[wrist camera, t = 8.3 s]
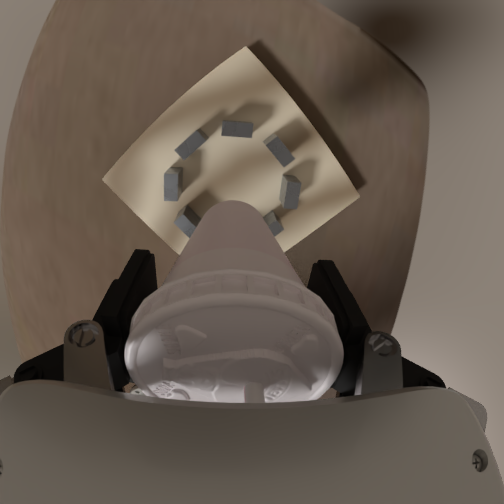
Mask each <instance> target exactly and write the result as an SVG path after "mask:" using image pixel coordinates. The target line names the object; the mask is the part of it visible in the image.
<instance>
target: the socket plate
mask: <svg viewBox="0 0 504 504" xmlns="http://www.w3.org/2000/svg"><path fill="white" fill-rule="evenodd" d="M223 120H233V121H245V122H252V123H253V133H252V138H244V137H231V136H221V133H222V121H223ZM199 128H201V130H202V131H203V132H204V133H205V134H206V135H207V136H208V137H209V138H208V139H207V141H206V142H204V143H203V144H202V145H201V146H200V147H199V148H198V149H196V150H195V151H194V152H193V153H192V154H191V155H190V156H189V157H188V158H186V159H185V160H183V159H182V158H181V157H180V156H179V155H178V154H177V153H176V152H175V151H174V150H175V149H176V148H177V147H178V146H179V145H180V144H181V143H183V142H184V141H185V140H186V139H187V138H188V137H189V136H190V135H191V134H192V133H194V132H195V131H196V130H197V129H199ZM272 134H275V135H276V136H278V137H279V139H280V140H281V141H282V142H283V144H284V145H285V146H286V148H287V149H288V150H289V151H290V153H291V154H292V155H293V157H294V158H295V160H293V161H292V162H291V163H289V164H288V165H287V166H286V167H283V166H282V165H281V164H280V162H279V161H278V160H277V159H276V157H275V156H274V155H273V154H272V153H271V151H270V150H269V149H268V148H267V146H266V145H265V144H264V143H263V141H264V140H265V139H266V138H268V137H269V136H270V135H272ZM170 167H183V189H182V194H181V196H180V198H179V200H178V201H164V173H165V172H166V171H167V170H168V169H169V168H170ZM282 175H292V176H296V177H297V178H298V180H299V181H300V182H301V189H300V195H299V201H298V207H297V209H286V208H283V206H282V204H281V202H280V200H279V196H280V189H281V182H282ZM102 180H103V181H104V182H105V183H106V184H107V185H108V186H109V187H110V188H111V189H112V190H113V191H114V192H115V193H116V194H117V195H118V196H119V197H120V198H121V199H122V200H123V201H124V202H125V203H126V204H127V205H128V206H129V207H130V208H131V209H132V210H133V211H134V212H135V213H136V214H137V215H138V216H139V217H140V218H141V219H142V220H143V221H144V222H145V223H146V224H147V225H148V226H149V227H150V228H151V229H152V230H153V231H154V232H155V233H156V234H157V235H158V236H159V237H161V238H162V239H163V240H164V241H165V242H166V243H167V244H168V245H169V246H170V247H171V248H172V249H173V250H174V251H175V252H177V253H178V254H179V255H180V254H181V252H182V251H183V249H184V247H185V245H186V244H187V242H188V240H189V239H190V238H189V237H188V236H187V235H186V234H184V233H183V232H182V231H181V230H180V229H179V228H178V227H177V226H176V225H175V224H174V220H175V218H176V216H177V214H178V212H179V211H180V210H181V209H182V208H184V207H185V206H186V205H188V206H189V207H190V208H191V209H192V210H193V211H194V212H195V213H196V214H197V215H198V216H199V217H200V218H201V219H202V218H203V216H204V214H205V213H206V212H207V211H208V210H209V209H210V208H211V207H212V206H214V205H216V204H218V203H220V202H223V201H228V200H237V201H242V202H245V203H248V204H250V205H251V206H253V207H254V208H255V209H256V210H257V211H258V212H259V213H260V214H261V216H262V217H264V216H265V215H266V214H268V213H269V212H270V211H272V210H273V211H274V212H275V213H276V214H277V216H278V217H279V218H280V220H281V222H282V225H283V227H284V230H283V231H282V232H280V233H279V234H278V235H276V236H275V239H276V240H277V242H278V243H279V245H280V247H281V248H282V250H283V252H286V251H287V250H288V249H290V248H291V247H292V246H294V245H295V244H297V243H298V242H299V241H301V240H302V239H303V238H305V237H306V236H308V235H309V234H310V233H312V232H313V231H314V230H316V229H317V228H319V227H320V226H321V225H323V224H324V223H325V222H327V221H328V220H329V219H331V218H332V217H334V216H335V215H336V214H338V213H339V212H340V211H342V210H343V209H344V208H346V207H347V206H348V205H350V204H351V203H352V202H354V201H355V200H356V199H358V198H359V197H360V196H359V194H358V192H357V191H356V189H355V187H354V186H353V184H352V183H351V181H350V179H349V178H348V176H347V175H346V173H345V172H344V170H343V169H342V167H341V166H340V164H339V162H338V161H337V159H336V158H335V156H334V155H333V154H332V152H331V151H330V149H329V148H328V146H327V145H326V143H325V142H324V141H323V139H322V138H321V136H320V135H319V134H318V132H317V131H316V129H315V128H314V127H313V125H312V124H311V123H310V121H309V120H308V119H307V117H306V116H305V115H304V113H303V112H302V111H301V110H300V108H299V107H298V106H297V104H296V103H295V102H294V101H293V99H292V98H291V97H290V96H289V94H288V93H287V92H286V91H285V90H284V88H283V87H282V86H281V85H280V84H279V82H278V81H277V80H276V79H275V78H274V77H273V75H272V74H271V73H270V72H269V71H268V70H267V69H266V67H265V66H264V65H263V64H262V63H261V62H260V61H259V60H258V59H257V57H256V56H255V55H254V54H253V53H252V52H251V51H250V50H249V49H248V48H247V47H246V46H245V47H244V48H242V49H241V50H240V51H238V52H237V53H235V54H234V55H233V56H231V57H230V58H228V59H227V60H226V61H224V62H223V63H222V64H220V65H219V66H218V67H216V68H215V69H214V70H213V71H211V72H210V73H209V74H208V75H206V76H205V77H204V78H203V79H201V80H200V81H199V82H198V83H196V84H195V85H194V86H193V87H192V88H191V89H189V90H188V91H187V92H186V93H185V94H184V95H182V96H181V97H180V98H179V99H178V100H177V101H176V102H175V103H174V104H172V105H171V106H170V107H169V108H168V109H167V110H166V111H165V112H164V113H163V114H162V115H161V116H160V117H159V118H158V119H157V120H156V121H155V122H154V123H153V124H152V125H151V126H150V127H149V128H148V129H147V130H146V131H145V132H144V133H143V134H142V135H141V136H140V137H139V138H138V139H137V140H136V141H135V142H134V143H133V144H132V145H131V146H130V148H129V149H128V150H127V151H126V152H125V153H124V154H123V155H122V156H121V158H120V159H119V160H118V161H117V162H116V163H115V165H114V166H113V167H112V168H111V169H110V170H109V172H108V173H107V174H106V175H105V176H104V178H103V179H102Z"/></svg>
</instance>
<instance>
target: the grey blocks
mask: <svg viewBox="0 0 504 504" xmlns="http://www.w3.org/2000/svg"><path fill="white" fill-rule="evenodd" d="M252 133H253V123H252V122H245V121H233V120H223V121H222V133H221V136H231V137H244V138H252ZM208 138H209V137H208V136H207V135H206V134H205V133H204V132H203V131H202V130H201V128H199V129H197V130H196V131H195V132H194V133H192V134H191V135H190V136H189V137H188V138H187V139H186V140H185V141H184V142H183V143H181V144H180V145H179V146H178V147H177V148H176V149H175V150H174V151H175V152H176V153H177V154H178V155H179V156H180V157H181V158H182V159H183V160H185V159H186V158H188V157H189V156H190V155H191V154H192V153H193V152H194V151H195V150H196V149H198V148H199V147H200V146H201V145H202V144H203V143H204V142H206V141H207V139H208ZM263 143H264V144H265V145H266V146H267V148H268V149H269V150H270V151H271V153H272V154H273V155H274V156H275V157H276V159H277V160H278V161H279V162H280V164H281V165H282V166H283V167H286V166H287V165H288V164H289V163H291V162H292V161H293V160H295V158H294V157H293V155H292V154H291V153H290V151H289V150H288V149H287V148H286V146H285V145H284V144H283V142H282V141H281V140H280V139H279V137H278V136H276V135H275V134H272V135H270V136H269V137H268V138H266V139H265V140H264V141H263ZM182 189H183V167H170V168H169V169H168V170H167V171H166V172H165V173H164V201H178V200H179V198H180V196H181V194H182ZM300 189H301V182H300V181H299V180H298V178H297V177H296V176H292V175H282V182H281V189H280V196H279V200H280V202H281V204H282V206H283V208H286V209H297V207H298V201H299V195H300ZM263 219H264V221H265V222H266V224H267V225H268V227H269V229H270V230H271V232H272V234H273V235H274V237H275V236H276V235H278V234H279V233H280V232H282V231H283V230H284V227H283V225H282V222H281V220H280V218H279V217H278V216H277V214H276V213H275V212H274V211H273V210H272V211H270V212H269V213H268V214H266V215H265V216H264V217H263ZM200 221H201V218H200V217H199V216H198V215H197V214H196V213H195V212H194V211H193V210H192V209H191V208H190V207H189V206H188V205H186V206H185V207H184V208H182V209H181V210H180V211H179V212H178V214H177V216H176V218H175V220H174V224H175V225H176V226H177V227H178V228H179V229H180V230H181V231H182V232H183V233H184V234H186V235H187V236H188V237H189V238H190V237H191V236H192V234H193V232H194V231H195V229H196V227H197V226H198V224H199V222H200Z"/></svg>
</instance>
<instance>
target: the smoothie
mask: <svg viewBox="0 0 504 504" xmlns="http://www.w3.org/2000/svg"><path fill="white" fill-rule="evenodd" d="M343 359H344V349H343V344H342V341H341V339H340V336H339V334H338V330H337V326H336V323H335V319H334V315H333V314H332V312H331V311H330V310H329V308H328V307H327V306H326V304H325V303H324V302H323V300H322V299H321V298H320V297H319V296H318V295H316V294H315V293H313V292H312V291H310V290H309V289H307V288H306V287H305V286H304V284H303V283H302V281H301V279H300V278H299V277H298V275H297V273H296V272H295V270H294V268H293V267H292V265H291V263H290V262H289V260H288V258H287V257H286V255H285V253H284V252H283V250H282V248H281V247H280V245H279V243H278V242H277V240H276V239H275V237H274V235H273V234H272V232H271V230H270V229H269V227H268V225H267V224H266V222H265V221H264V219H263V217H262V216H261V214H260V213H259V212H258V211H257V210H256V209H255V208H254V207H253V206H251V205H250V204H248V203H245V202H242V201H237V200H228V201H223V202H220V203H218V204H216V205H214V206H212V207H211V208H210V209H209V210H208V211H207V212H206V213H205V214H204V216H203V218H202V219H201V221H200V222H199V224H198V226H197V227H196V229H195V231H194V232H193V234H192V236H191V237H190V239H189V240H188V242H187V244H186V245H185V247H184V249H183V251H182V252H181V254H180V256H179V257H178V259H177V261H176V262H175V264H174V266H173V268H172V269H171V271H170V273H169V275H168V276H167V278H166V279H165V281H164V283H163V285H162V286H161V287H160V288H159V289H157V290H156V291H154V292H153V293H152V294H150V295H149V296H148V297H146V298H145V299H144V300H143V302H142V303H141V305H140V306H139V308H138V309H137V311H136V312H135V314H134V315H133V317H132V320H131V325H130V331H129V337H128V339H127V342H126V346H125V364H126V367H127V370H128V373H129V375H130V377H131V378H132V380H133V381H134V383H135V384H136V385H137V387H138V388H139V389H140V390H141V391H142V392H143V393H144V394H145V395H146V396H150V397H158V398H167V399H177V400H188V401H203V402H224V403H272V402H294V401H309V400H317V399H318V398H319V397H321V396H322V395H323V394H324V393H325V392H326V391H327V390H328V389H329V388H330V387H331V385H332V384H333V383H334V381H335V380H336V378H337V377H338V375H339V373H340V370H341V368H342V364H343Z"/></svg>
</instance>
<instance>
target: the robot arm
mask: <svg viewBox="0 0 504 504" xmlns="http://www.w3.org/2000/svg"><path fill="white" fill-rule="evenodd" d="M157 289H158V288H157V278H156V268H155V257H154V254H150V251H149V250H141V249H135V251H134V252H133V254H132V256H131V258H130V259H129V261H128V263H127V265H126V267H125V268H124V270H123V272H122V274H121V276H120V278H119V279H115V280H114V281H113V282H112V284H111V285H110V287H109V289H108V291H107V293H106V295H105V296H104V298H103V300H102V302H101V304H100V306H99V308H98V310H97V312H96V314H95V316H94V318H93V320H81V321H77V322H75V323H73V324H72V325H71V326H70V327H68V329H67V330H66V332H65V335H64V344H62V345H60V346H58V347H56V348H53V349H51V350H49V351H47V352H45V353H43V354H41V355H39V356H36V357H34V358H32V359H30V360H28V361H26V362H24V363H23V364H21V365H20V366H19V367H18V368H17V370H16V372H15V374H14V377H13V378H11V377H10V376H8V377H5V378H3V379H1V380H0V504H504V485H503V481H502V478H501V475H500V472H499V469H498V466H497V463H496V460H495V457H494V455H493V452H492V449H491V447H490V444H489V442H488V440H487V437H486V435H485V433H484V432H485V428H486V422H487V412H486V409H485V408H484V406H483V405H482V404H480V403H479V402H477V401H474V400H473V399H471V398H469V397H467V396H465V395H463V394H461V393H459V392H457V391H455V390H453V389H452V388H450V387H449V388H448V389H446V386H445V384H444V382H443V380H442V379H441V378H440V377H439V376H437V375H436V374H434V373H432V372H430V371H428V370H426V369H425V368H423V367H421V366H419V365H417V364H415V363H413V362H411V361H409V360H407V359H406V358H404V357H402V356H401V348H400V344H399V343H398V341H397V340H396V339H395V338H394V337H393V336H391V335H390V334H388V333H385V332H381V331H375V332H372V331H371V329H370V327H369V325H368V323H367V321H366V319H365V317H364V315H363V313H362V312H361V310H360V308H359V306H358V304H357V302H356V300H355V298H354V297H353V295H352V293H351V292H350V291H349V289H348V287H347V285H346V283H345V282H344V280H343V278H342V276H341V275H340V273H339V271H338V269H337V267H336V266H335V264H334V262H333V261H332V260H318V262H317V263H314V264H313V267H312V271H311V275H310V279H309V283H308V286H307V289H309V290H310V291H312V292H313V293H315V294H316V295H318V296H319V297H320V298H321V299H322V300H323V302H324V303H325V304H326V306H327V307H328V308H329V310H330V311H331V312H332V314H333V315H334V319H335V323H336V326H337V330H338V334H339V336H340V339H341V341H342V344H343V349H344V359H343V364H342V368H341V370H340V373H339V375H338V377H337V378H336V380H335V381H334V383H333V384H332V385H331V387H330V388H334V389H335V390H337V392H336V397H335V398H330V399H320V400H309V401H294V402H272V403H224V402H203V401H188V400H177V399H167V398H158V397H150V396H146V395H145V394H144V393H143V392H142V391H141V390H140V389H139V388H138V387H137V385H136V386H134V387H133V388H132V389H131V390H130V393H126V392H125V388H124V386H125V385H127V384H129V382H132V383H134V381H133V380H132V378H131V377H130V375H129V373H128V370H127V367H126V364H125V346H126V342H127V339H128V337H129V331H130V325H131V320H132V317H133V315H134V314H135V312H136V311H137V309H138V308H139V306H140V305H141V303H142V302H143V300H144V299H145V298H146V297H148V296H149V295H150V294H152V293H153V292H154V291H156V290H157Z"/></svg>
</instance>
